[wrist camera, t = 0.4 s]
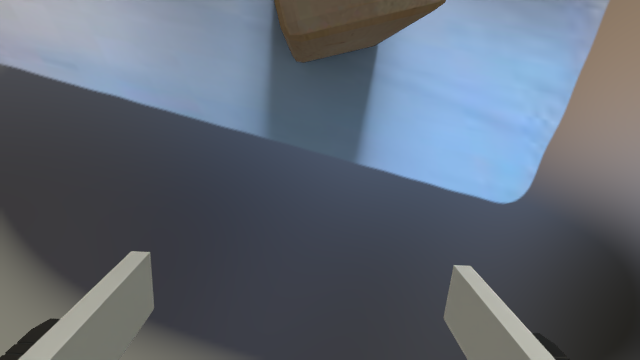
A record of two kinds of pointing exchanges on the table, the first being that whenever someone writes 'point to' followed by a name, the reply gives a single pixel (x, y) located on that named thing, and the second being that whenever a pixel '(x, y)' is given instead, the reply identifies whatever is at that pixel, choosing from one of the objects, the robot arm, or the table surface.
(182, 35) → the table surface
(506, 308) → the robot arm
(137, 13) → the table surface
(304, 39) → the wooden block
